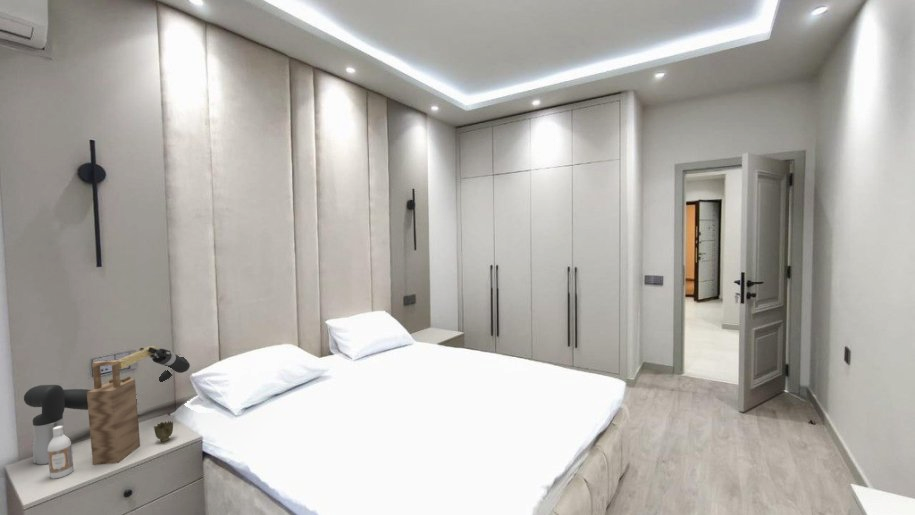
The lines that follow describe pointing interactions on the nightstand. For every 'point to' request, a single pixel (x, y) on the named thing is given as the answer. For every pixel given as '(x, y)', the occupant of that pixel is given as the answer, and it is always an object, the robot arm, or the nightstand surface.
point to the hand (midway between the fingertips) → (145, 349)
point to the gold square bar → (135, 357)
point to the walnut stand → (112, 416)
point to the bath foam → (60, 454)
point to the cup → (164, 430)
